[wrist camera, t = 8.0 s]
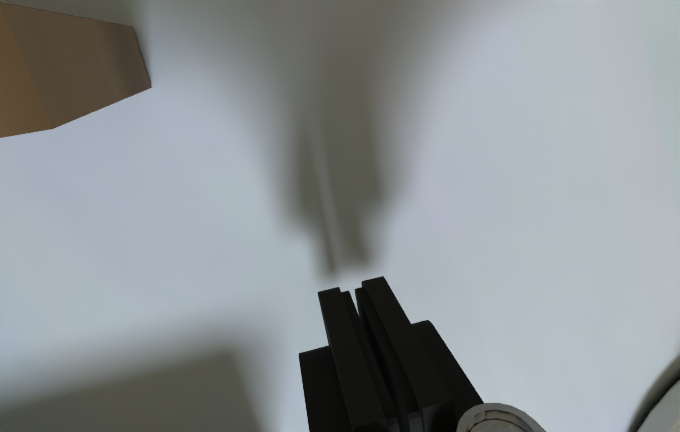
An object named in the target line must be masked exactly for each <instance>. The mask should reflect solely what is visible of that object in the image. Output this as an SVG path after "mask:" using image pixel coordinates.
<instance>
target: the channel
mask: <svg viewBox="0 0 680 432" xmlns="http://www.w3.org/2000/svg"><path fill="white" fill-rule="evenodd" d="M149 88H152V87H151V84H150V80H149V77H148V74H147V71H146V68H145V65H144V61H143V58H142V55H141V52H140V49H139V46H138V43H137V39H136V36H135V33H134V30H133V27H131V26H125V25H120V24H114V23H109V22H104V21H98V20H93V19H88V18H82V17H77V16H71V15H66V14H61V13H55V12H50V11H44V10H39V9H34V8H28V7H23V6H17V5H12V4H7V3H1V2H0V138H2V137H8V136H14V135H19V134H25V133H31V132H37V131H43V130H48V129H54V128H56V127H58V126H61V125H63V124H66V123H68V122H70V121H73V120H75V119H77V118H80V117H82V116H85V115H87V114H89V113H92V112H94V111H97V110H99V109H101V108H104V107H106V106H109V105H111V104H113V103H116V102H118V101H120V100H123V99H125V98H128V97H130V96H132V95H135V94H137V93H140V92H142V91H144V90H147V89H149Z"/></svg>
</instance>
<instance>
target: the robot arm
mask: <svg viewBox="0 0 680 432" xmlns="http://www.w3.org/2000/svg"><path fill="white" fill-rule="evenodd" d="M355 295H356V301H357V307H358V312H359V315H358V313H357V310H356V308H355V305H354V303H353V300H352V297H351V295H350V292H349V291H345V292H341V291H340V288H339V287H337V288H332V289H328V290H324V291H320V292H318V297H319V301H320V306H321V311H322V315H323V320H324V325H325V329H326V334H327V339H328V344H329V346H325V347H321V348H318V349H314V350H310V351H306V352H302V353H299V361H300V368H301V375H302V382H303V389H304V396H305V403H306V410H307V417H308V424H309V431H310V432H546V431H545V430H544V429H543V428H542V427H541V426H540V425H539V424H538V423H537V422H536V421H535V420H534V419H533V418H531V417H530V416H529V415H528V414H526V413H525V412H523V411H521V410H519V409H517V408H515V407H513V406H510V405H506V404H501V403H484V402H483V401H482V399H481V398H480V396H479V395H478V393H477V392H476V390H475V388H474V387H473V385H472V384H471V382H470V381H469V379H468V378H467V376H466V375H465V373H464V372H463V370H462V369H461V367H460V366H459V364H458V362H457V361H456V359H455V358H454V356H453V355H452V353H451V352H450V350H449V349H448V347H447V346H446V344H445V343H444V341H443V339H442V338H441V336H440V335H439V333H438V332H437V330H436V329H435V327H434V326H433V324H432V323H431V322H430V321H429V320H425V321H421V322H418V323H414V324H411V323H410V321H409V320H408V318H407V316H406V314H405V313H404V311H403V309H402V307H401V306H400V304H399V302H398V300H397V299H396V297H395V295H394V293H393V292H392V290H391V288H390V287H389V285H388V283H387V281H386V280H385V278H384V277H383V276H382V277H378V278H373V279H369V280H365V281H362V287H361V288H357V289H355ZM637 432H680V380H679V381H677V382H676V383H675V384H674V385H673V386H672V387H671V388H670V389H669V390H668V391H667V392H666V394H665V395H664V396H663V397H662V398H661V399H660V401H659V402H658V403H657V404H656V405H655V406H654V408H653V409H652V410H651V411H650V413H649V414H648V416H647V417H646V419H645V420H644V422H643V423H642V425H641V426H640V428H639V429H638V431H637Z"/></svg>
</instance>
